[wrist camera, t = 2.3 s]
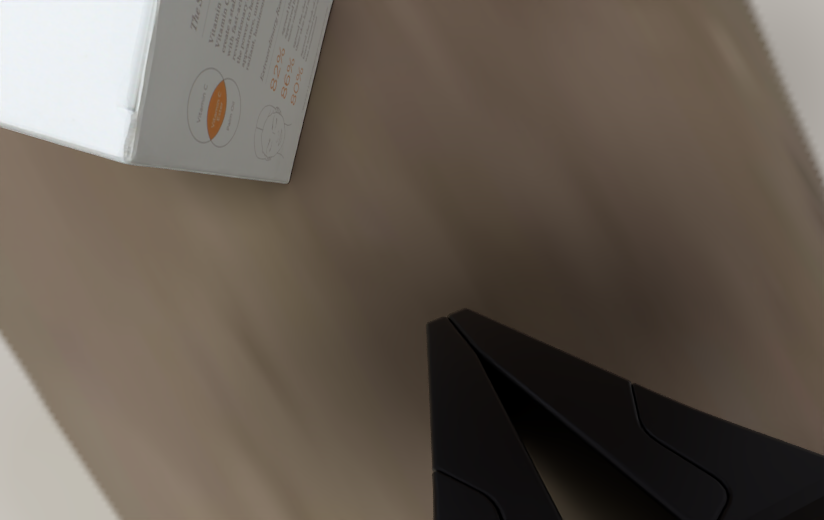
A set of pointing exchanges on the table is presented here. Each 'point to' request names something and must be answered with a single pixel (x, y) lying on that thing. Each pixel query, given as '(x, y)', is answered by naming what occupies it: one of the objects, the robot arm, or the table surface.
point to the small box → (164, 79)
